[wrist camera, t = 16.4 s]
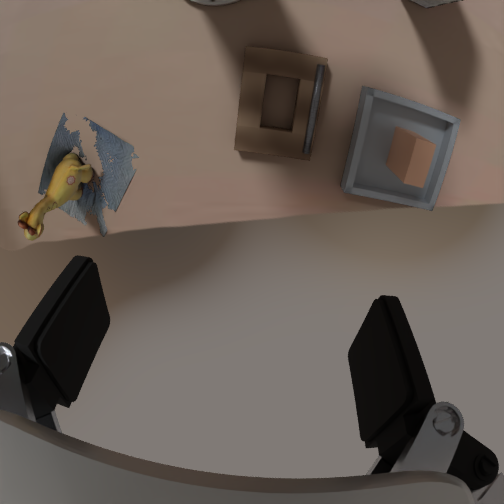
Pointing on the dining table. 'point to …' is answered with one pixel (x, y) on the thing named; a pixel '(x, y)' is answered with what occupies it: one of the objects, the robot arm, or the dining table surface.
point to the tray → (379, 142)
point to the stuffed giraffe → (80, 179)
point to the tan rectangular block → (410, 156)
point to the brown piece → (306, 105)
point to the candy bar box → (433, 2)
